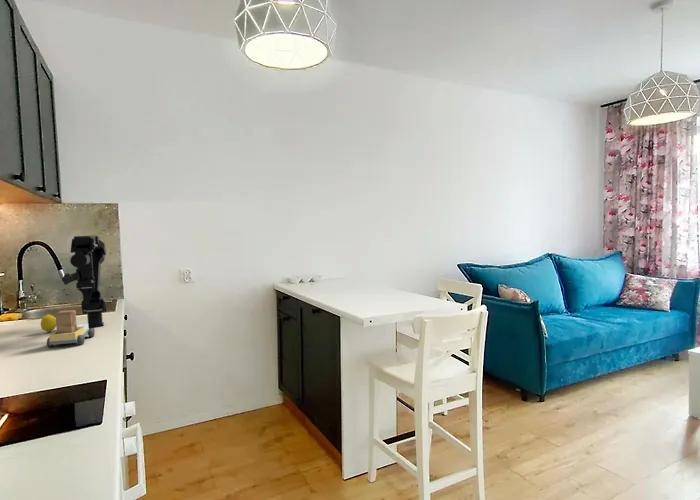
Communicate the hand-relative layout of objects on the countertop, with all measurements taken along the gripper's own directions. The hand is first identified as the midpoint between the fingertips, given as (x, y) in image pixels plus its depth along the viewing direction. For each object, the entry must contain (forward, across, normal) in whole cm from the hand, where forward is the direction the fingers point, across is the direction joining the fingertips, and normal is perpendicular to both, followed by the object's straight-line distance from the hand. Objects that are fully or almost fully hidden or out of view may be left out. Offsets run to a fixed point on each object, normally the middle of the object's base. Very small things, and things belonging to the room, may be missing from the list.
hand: (87, 302), depth 180 cm
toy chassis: (+13, +14, -6) cm, 20 cm away
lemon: (+13, -10, -15) cm, 23 cm away
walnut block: (+10, +17, -7) cm, 21 cm away
